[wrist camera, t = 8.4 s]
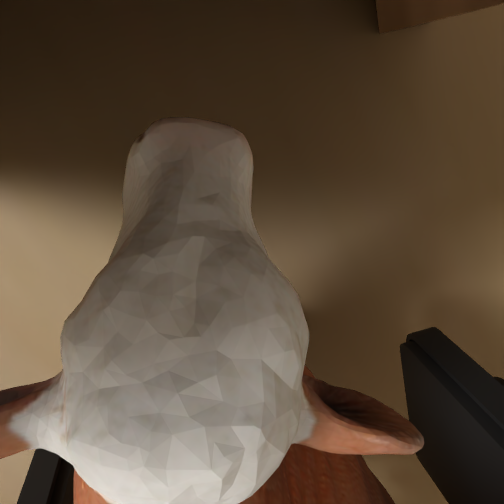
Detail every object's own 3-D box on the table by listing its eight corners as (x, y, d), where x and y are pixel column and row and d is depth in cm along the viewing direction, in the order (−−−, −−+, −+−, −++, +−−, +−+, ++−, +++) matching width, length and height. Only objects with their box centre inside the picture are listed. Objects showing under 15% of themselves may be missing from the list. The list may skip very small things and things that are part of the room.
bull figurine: (223, 77, 10) (385, 63, 2) (376, 508, 15) (589, 954, 7) (26, 153, 10) (-469, 393, 2) (246, 562, 15) (324, 1071, 7)
